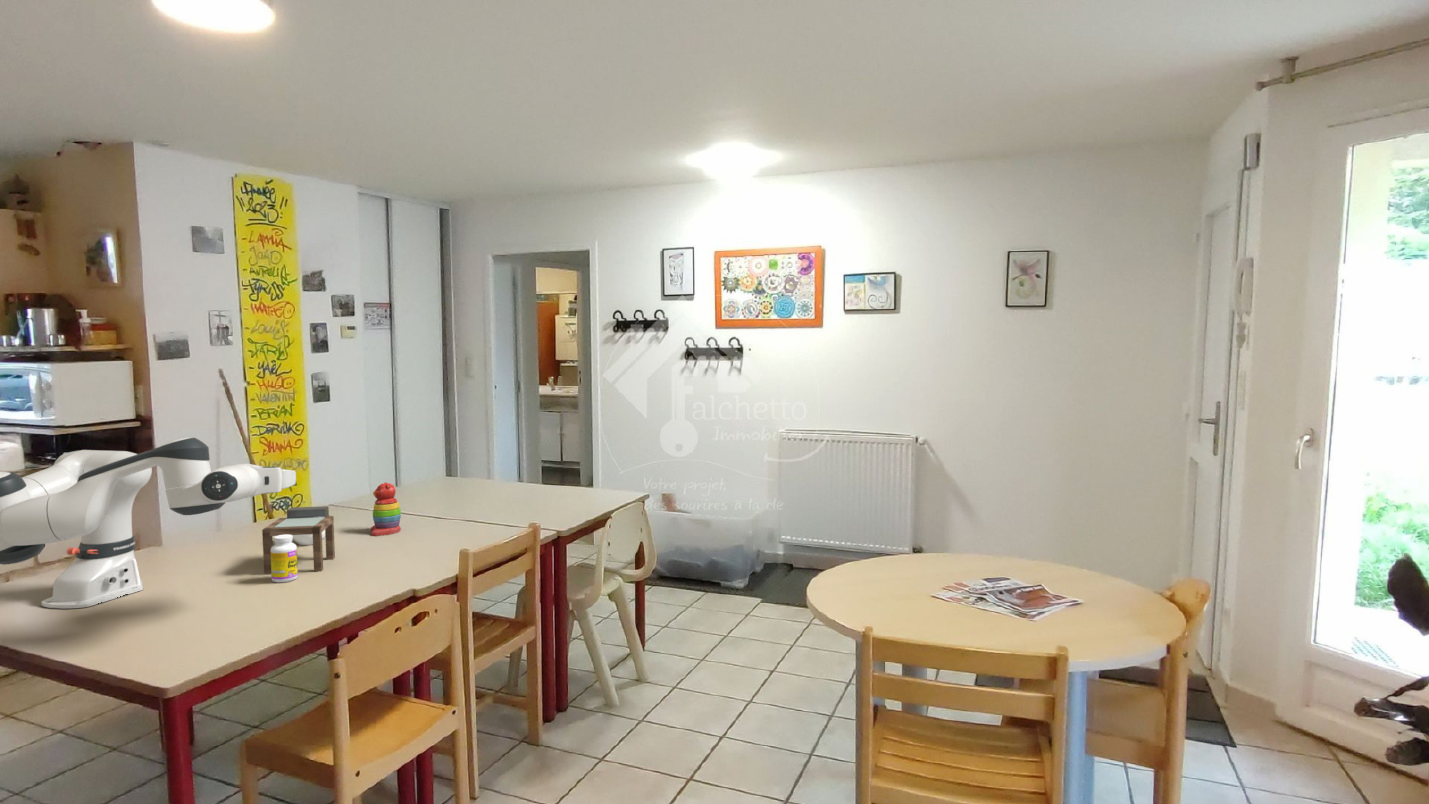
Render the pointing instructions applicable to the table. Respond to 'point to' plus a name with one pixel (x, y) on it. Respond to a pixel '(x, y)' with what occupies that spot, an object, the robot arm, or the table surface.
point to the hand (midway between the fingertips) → (261, 477)
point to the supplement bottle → (284, 559)
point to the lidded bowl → (306, 538)
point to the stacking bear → (385, 511)
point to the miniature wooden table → (316, 530)
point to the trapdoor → (304, 516)
